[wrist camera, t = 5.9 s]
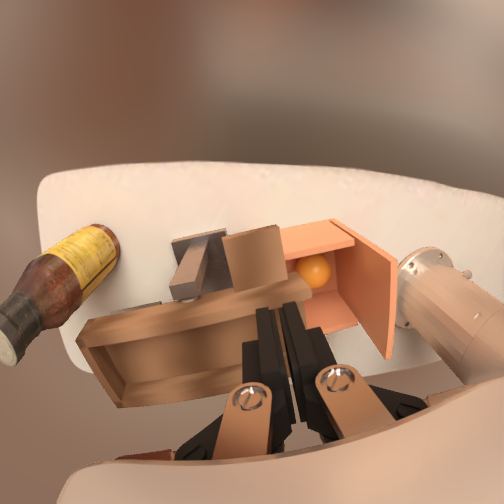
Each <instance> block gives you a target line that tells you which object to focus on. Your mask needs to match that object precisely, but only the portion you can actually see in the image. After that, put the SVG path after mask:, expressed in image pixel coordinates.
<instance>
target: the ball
mask: <svg viewBox="0 0 504 504" xmlns="http://www.w3.org/2000/svg"><path fill="white" fill-rule="evenodd" d="M295 271H297V272H298V273H299V274H300V275H301V277H302V278H303V279H304V280H305V281H306V282H307V284H308V285H309V286H310V287H311V289H318V288H321V287H323V286H324V285H325V284H326V283H327V282H328V281H329V279H330V276H331V265H330V263H329V261H328V259H327V258H326V257H325V256H323V255H322V254H319V253H318V254H314V255H309V256H305V257H301V258H300V259H299V260H298V261H297V263H296V266H295Z"/></svg>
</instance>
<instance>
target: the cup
mask: <svg viewBox="0 0 504 504" xmlns="http://www.w3.org/2000/svg"><path fill="white" fill-rule="evenodd" d="M280 235H281V240H282V246H283V252H284V257H285V263H286V269H287V274H288V273H292V272H295V266H296V263H297V261H298V260H299V259H300V258H301V257H305V256H309V255H314V254H318V253H319V254H322V255H323V256H325V257H326V258H327V259H328V261H329V263H330V265H331V276H330V279H329V281H328V282H327V283H326V284H325V285H324V286H323V287H321V288H318V289H311V291H312V298H310V299H307V300H304V307H305V314H306V322H307V329H311V328H315V327H319V326H320V327H321V329H322V331H323V333H324V334H327V333H331V332H335V331H339V330H342V329H346V328H349V327H353V326H356V325H358V321H359V323H360V324H361V325H362V327H363V328H364V330H365V331H366V333H367V334H368V335H369V337H370V338H371V340H372V341H373V343H374V344H375V345H376V347H377V348H378V350H379V351H380V353H381V354H382V356H383V357H384V359H385V360H387V359H389V358H391V357H392V348H393V340H394V329H395V317H396V302H397V273H398V260H397V259H396V258H394V257H393V256H391V255H390V254H388V253H387V252H385V251H384V250H382V249H381V248H379V247H378V246H376V245H375V244H373V243H372V242H370V241H369V240H367V239H366V238H364V237H363V236H361V235H359V234H358V233H356V232H355V231H353V230H352V229H350V228H349V227H347V226H345V225H344V224H342V223H341V222H339V221H337V220H336V219H334V218H333V219H328V220H323V221H318V222H313V223H308V224H303V225H298V226H293V227H288V228H283V229H280Z"/></svg>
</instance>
